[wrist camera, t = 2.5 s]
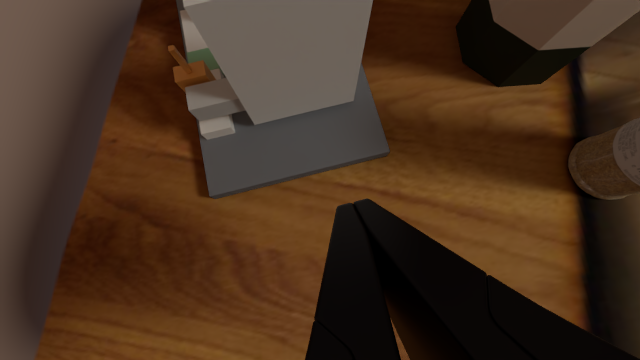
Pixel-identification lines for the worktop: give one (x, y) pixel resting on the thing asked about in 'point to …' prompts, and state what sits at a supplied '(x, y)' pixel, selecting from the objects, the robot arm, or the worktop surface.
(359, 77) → the base
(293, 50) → the white tall block
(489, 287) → the robot arm
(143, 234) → the worktop surface
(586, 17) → the wine bottle
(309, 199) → the worktop surface
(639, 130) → the sprinkles bottle
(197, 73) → the orange block with rod
